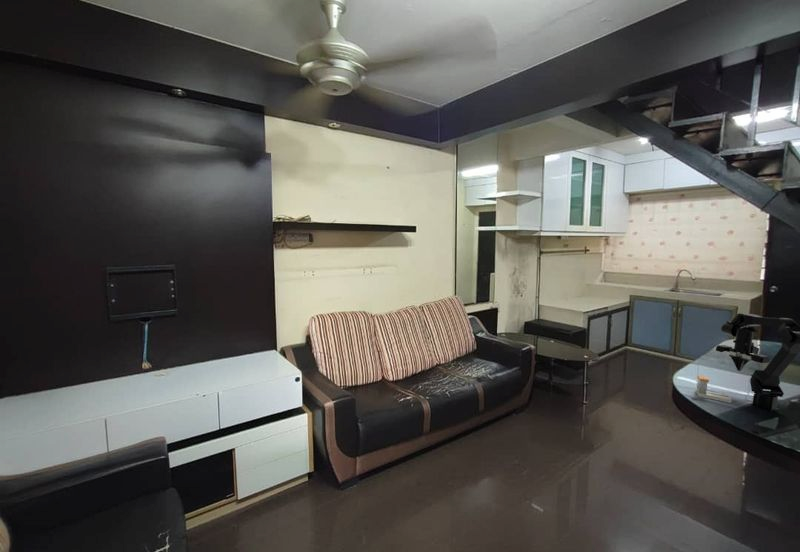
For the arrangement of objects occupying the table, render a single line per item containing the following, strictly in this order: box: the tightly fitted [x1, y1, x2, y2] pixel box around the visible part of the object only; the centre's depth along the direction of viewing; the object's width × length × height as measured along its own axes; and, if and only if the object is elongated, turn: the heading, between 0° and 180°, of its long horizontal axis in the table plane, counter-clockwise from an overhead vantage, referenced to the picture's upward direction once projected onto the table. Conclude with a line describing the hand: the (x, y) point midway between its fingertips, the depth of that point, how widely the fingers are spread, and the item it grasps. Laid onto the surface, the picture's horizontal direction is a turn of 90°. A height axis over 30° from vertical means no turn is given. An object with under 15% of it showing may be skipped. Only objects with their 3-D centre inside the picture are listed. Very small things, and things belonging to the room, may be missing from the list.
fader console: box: [695, 388, 733, 403], centre depth 163 cm, size 12×6×2 cm, turn 61°
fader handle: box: [696, 374, 710, 393], centre depth 165 cm, size 3×5×7 cm, turn 151°
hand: (739, 370), depth 169 cm, fingers closed
